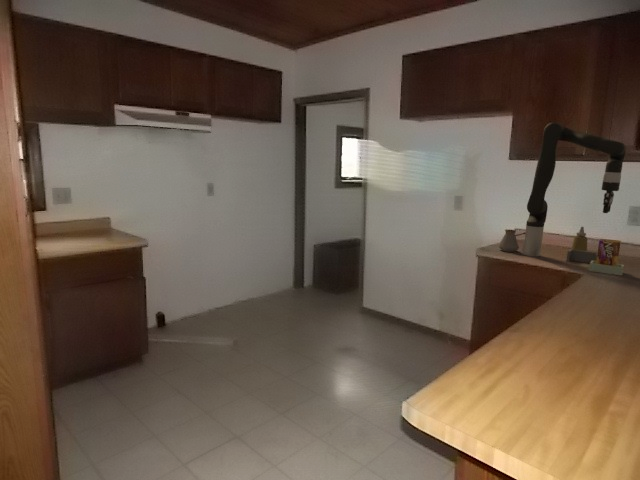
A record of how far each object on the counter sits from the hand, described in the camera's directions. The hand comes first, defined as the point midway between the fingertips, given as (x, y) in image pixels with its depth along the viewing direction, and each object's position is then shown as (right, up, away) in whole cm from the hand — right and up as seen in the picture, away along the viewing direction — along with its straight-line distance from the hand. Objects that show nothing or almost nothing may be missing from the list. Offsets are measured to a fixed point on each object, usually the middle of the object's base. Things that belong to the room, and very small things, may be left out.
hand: (606, 212), depth 224 cm
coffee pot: (-31, -22, +35) cm, 52 cm away
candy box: (-6, -30, -9) cm, 32 cm away
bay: (-7, -27, +10) cm, 29 cm away
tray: (-7, -30, -9) cm, 32 cm away
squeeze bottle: (+1, -25, +25) cm, 35 cm away
